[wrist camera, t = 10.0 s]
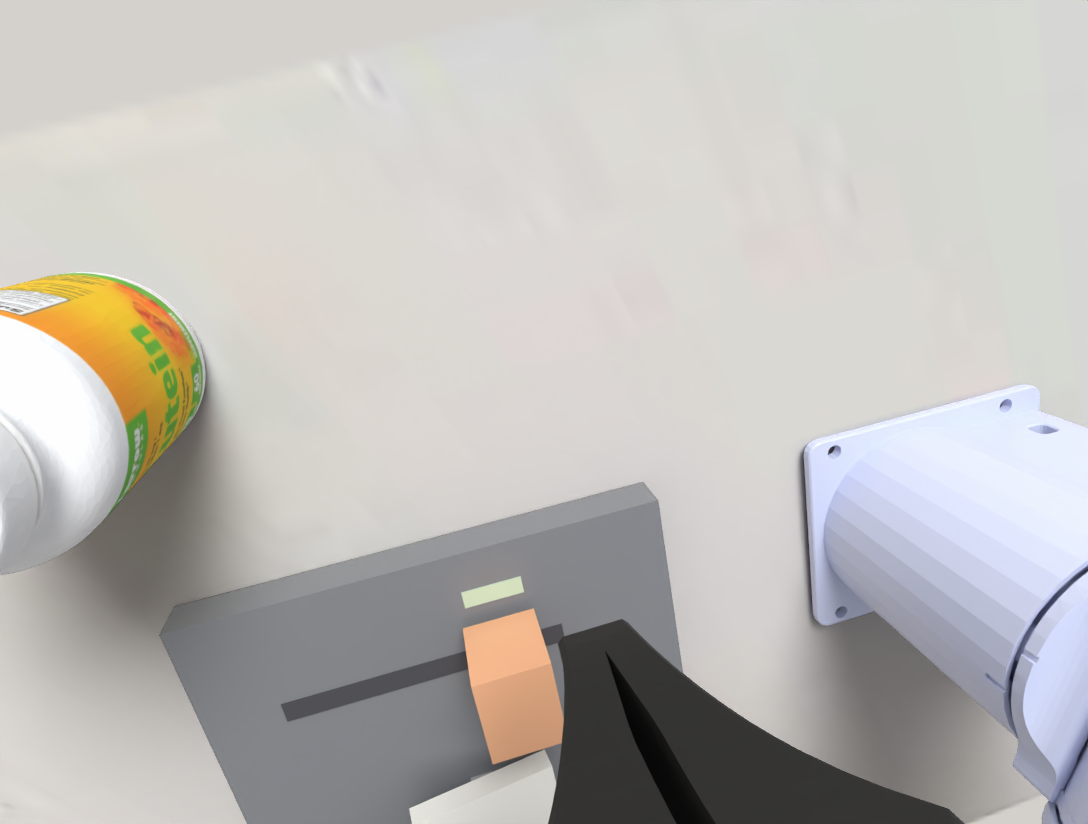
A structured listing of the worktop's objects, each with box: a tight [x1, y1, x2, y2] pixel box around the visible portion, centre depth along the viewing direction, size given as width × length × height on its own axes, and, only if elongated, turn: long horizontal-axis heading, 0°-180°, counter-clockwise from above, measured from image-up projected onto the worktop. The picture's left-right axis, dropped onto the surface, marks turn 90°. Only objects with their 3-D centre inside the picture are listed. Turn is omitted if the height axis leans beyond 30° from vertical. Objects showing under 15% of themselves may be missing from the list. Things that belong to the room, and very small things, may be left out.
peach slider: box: [463, 608, 564, 764], centre depth 22 cm, size 2×3×3 cm
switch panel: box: [160, 482, 683, 824], centre depth 25 cm, size 16×19×2 cm
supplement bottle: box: [0, 272, 206, 575], centre depth 15 cm, size 5×5×10 cm
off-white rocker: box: [409, 749, 556, 824], centre depth 24 cm, size 5×3×1 cm, turn 101°
